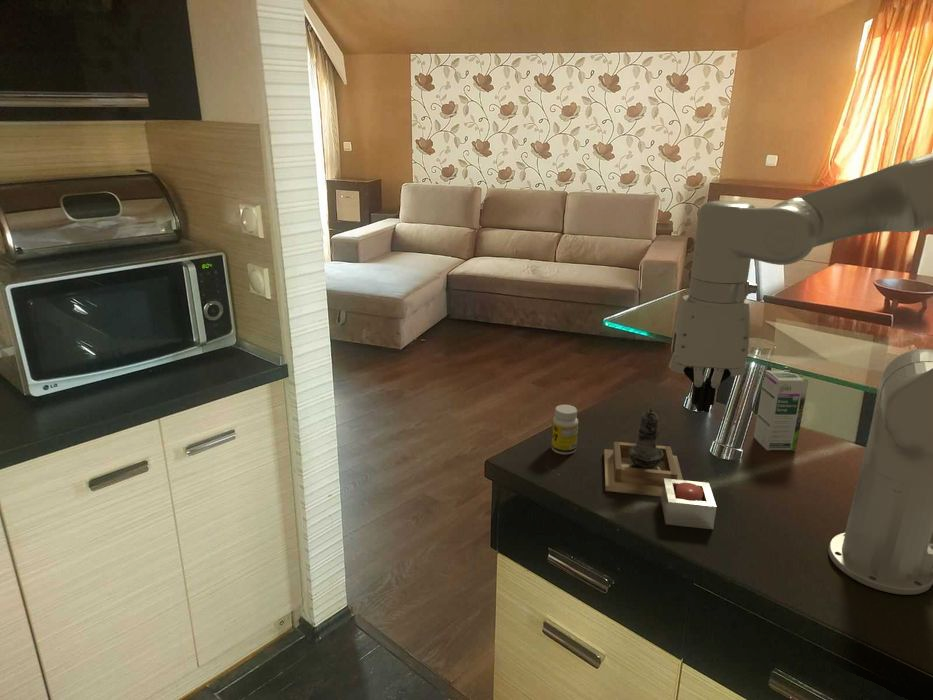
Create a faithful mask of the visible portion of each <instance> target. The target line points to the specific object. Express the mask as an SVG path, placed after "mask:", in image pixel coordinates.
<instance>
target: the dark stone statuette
mask: <svg viewBox="0 0 933 700" xmlns="http://www.w3.org/2000/svg"><path fill="white" fill-rule="evenodd" d="M640 417H641V418H640V425H639V428H638V429H637V431H636V433H637V434H638V440H637V443H635V444H636V445H633V446H631V447H630V448H629V450H628V451H629V454H630V458H631V461H632V462H633V463H632V464H630V465H629V467H631V468H642V469H653V470H659V469H658V468H657V467H656V466H657V465H658V464H659V462H660V461H661V458H662V457H663V452H662V451H661V450H660V449H659V448H657V447H656V445H657V437H658V436H659V433H660V432H659V431H658V425H659V424H658V423H659V416H658V415H657V413H655V412H653V408H652V407H650V408H648V411H646V412H643V413H642V414H641V416H640Z"/></svg>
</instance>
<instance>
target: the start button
mask: <svg viewBox="0 0 933 700" xmlns="http://www.w3.org/2000/svg"><path fill="white" fill-rule="evenodd" d="M702 496H703V490H702V488H700V487H699V486H697V485H695V484H692V483H680V484H678V485H677V486H676V493H675V497H676V499H685V500H695V501H702Z"/></svg>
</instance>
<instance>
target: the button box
mask: <svg viewBox="0 0 933 700" xmlns="http://www.w3.org/2000/svg"><path fill="white" fill-rule="evenodd" d="M680 483H692V484H695V485H697V486H699V487H700V488H702V490H703V496H702V501H695V500H685V499H676V497H675V493H676V486H677V485H678V484H680ZM660 497H661V499H660V502H661V506H662V512H663V517H664V523H665V525H669V526H679V527H686V528H687V527H688V528H696V529H697V528H698V529H707V530H714V527H715V526H714V524H715V520H716V513H717V508H718V507H717V504H716V501H715V498H714V494H713V491H712V488H711V485H710V482H704V481H695V480H694V481H693V480H684V479H683V480H675V479H665V478H664V481H663V489H662V496H660Z"/></svg>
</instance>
